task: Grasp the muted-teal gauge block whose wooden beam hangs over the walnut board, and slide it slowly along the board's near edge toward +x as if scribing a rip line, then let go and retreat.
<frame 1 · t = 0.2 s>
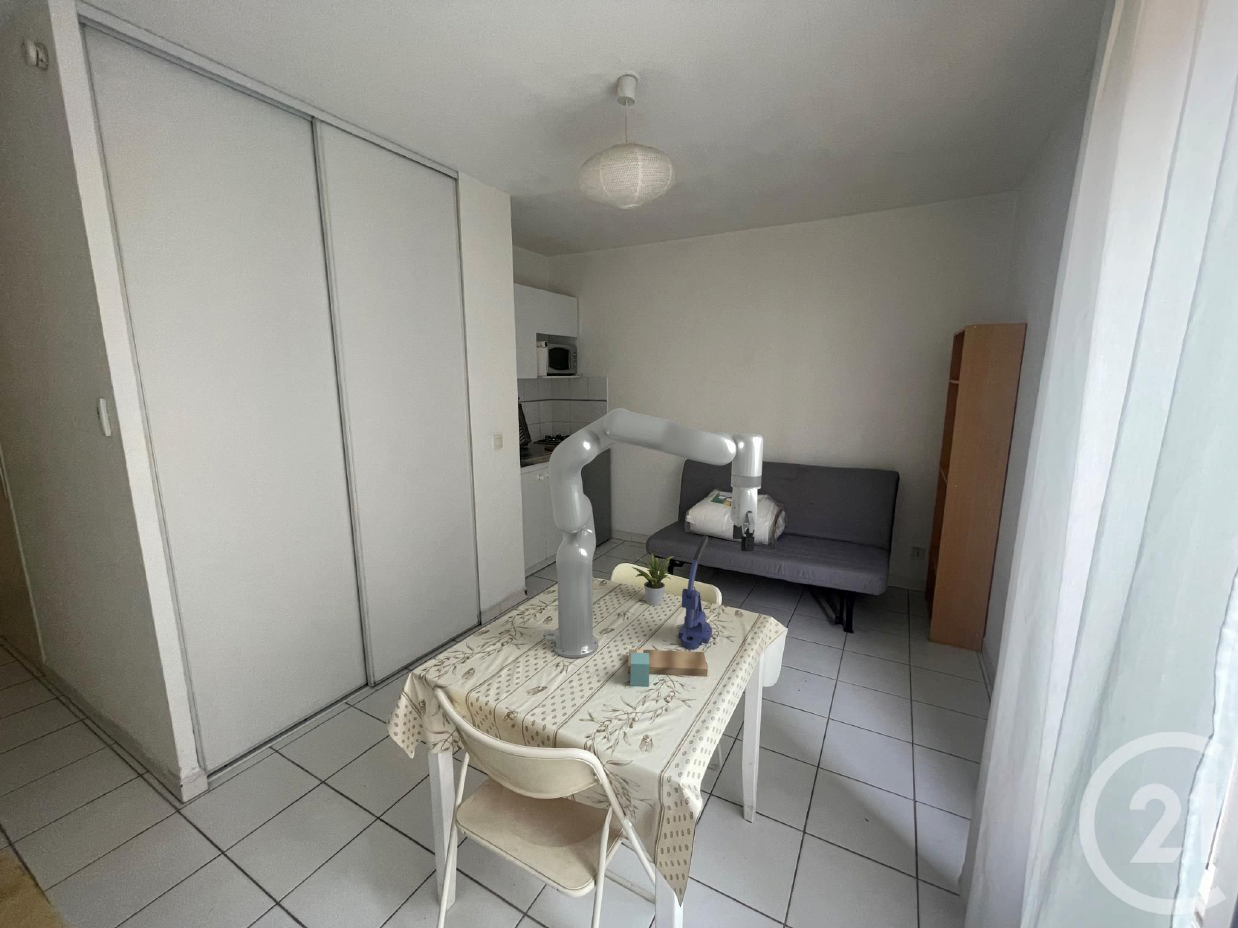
hand: (742, 544, 131), 31 cm above the table, fingers open, 9 cm apart
house plant: (655, 601, 168), on the table
gauge: (639, 680, 123), on the table
board: (666, 665, 129), on the table
hand press: (695, 636, 145), on the table
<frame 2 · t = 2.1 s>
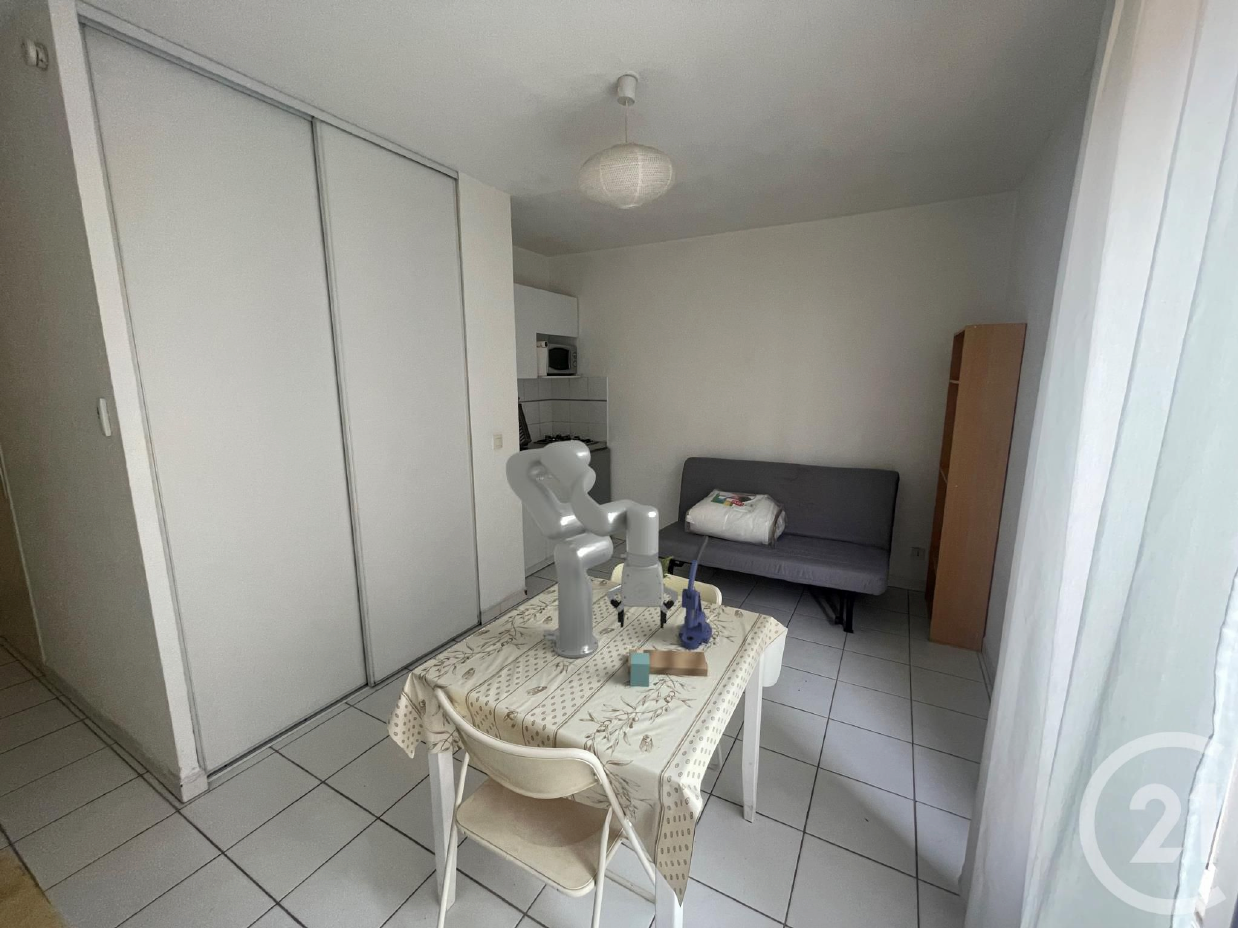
hand: (642, 625, 120), 15 cm above the table, fingers open, 9 cm apart
nothing on the table moved.
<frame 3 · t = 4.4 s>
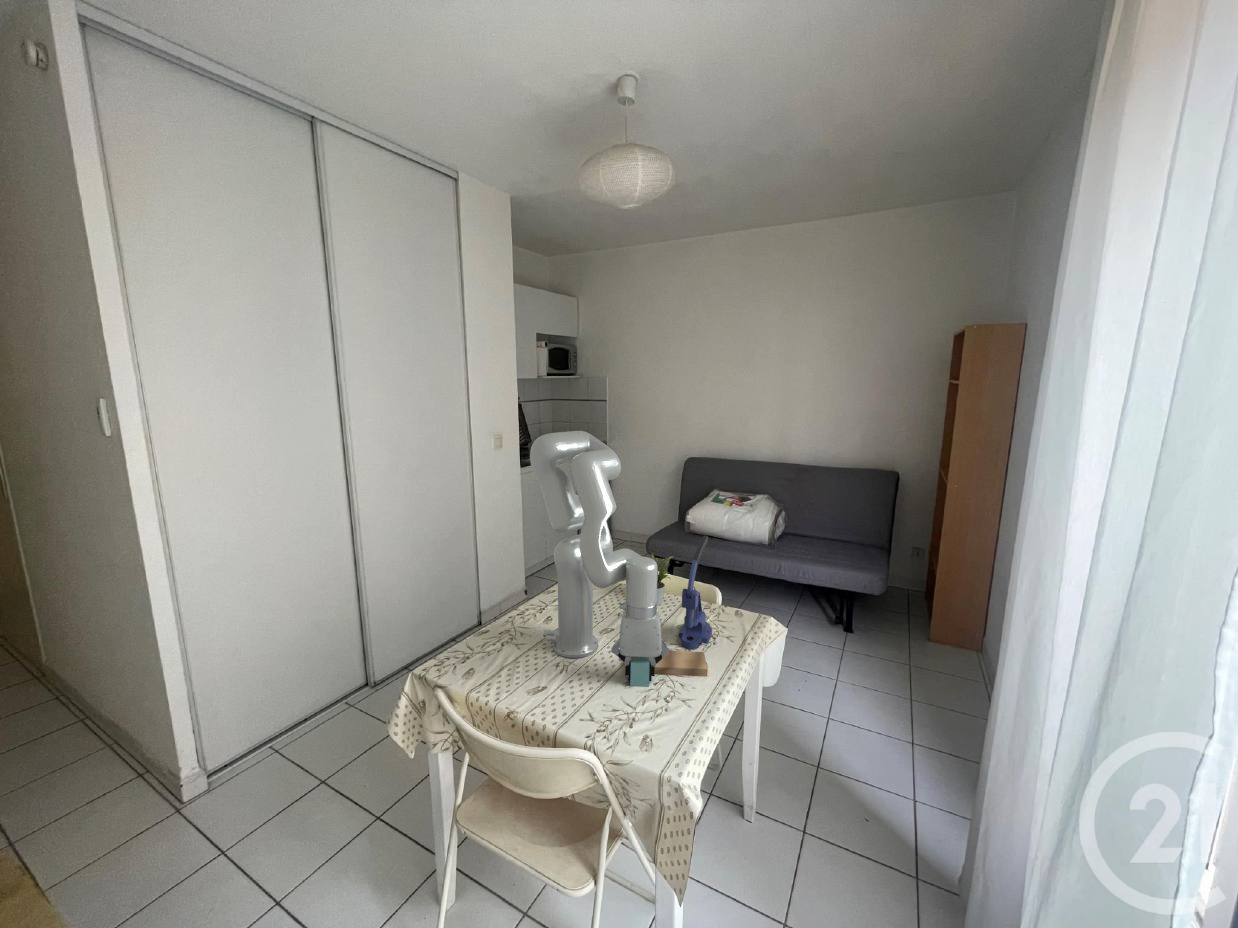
hand: (639, 676, 123), 1 cm above the table, fingers closed on gauge, 4 cm apart
gauge: (639, 680, 123), on the table, touching gripper
everything else where it was.
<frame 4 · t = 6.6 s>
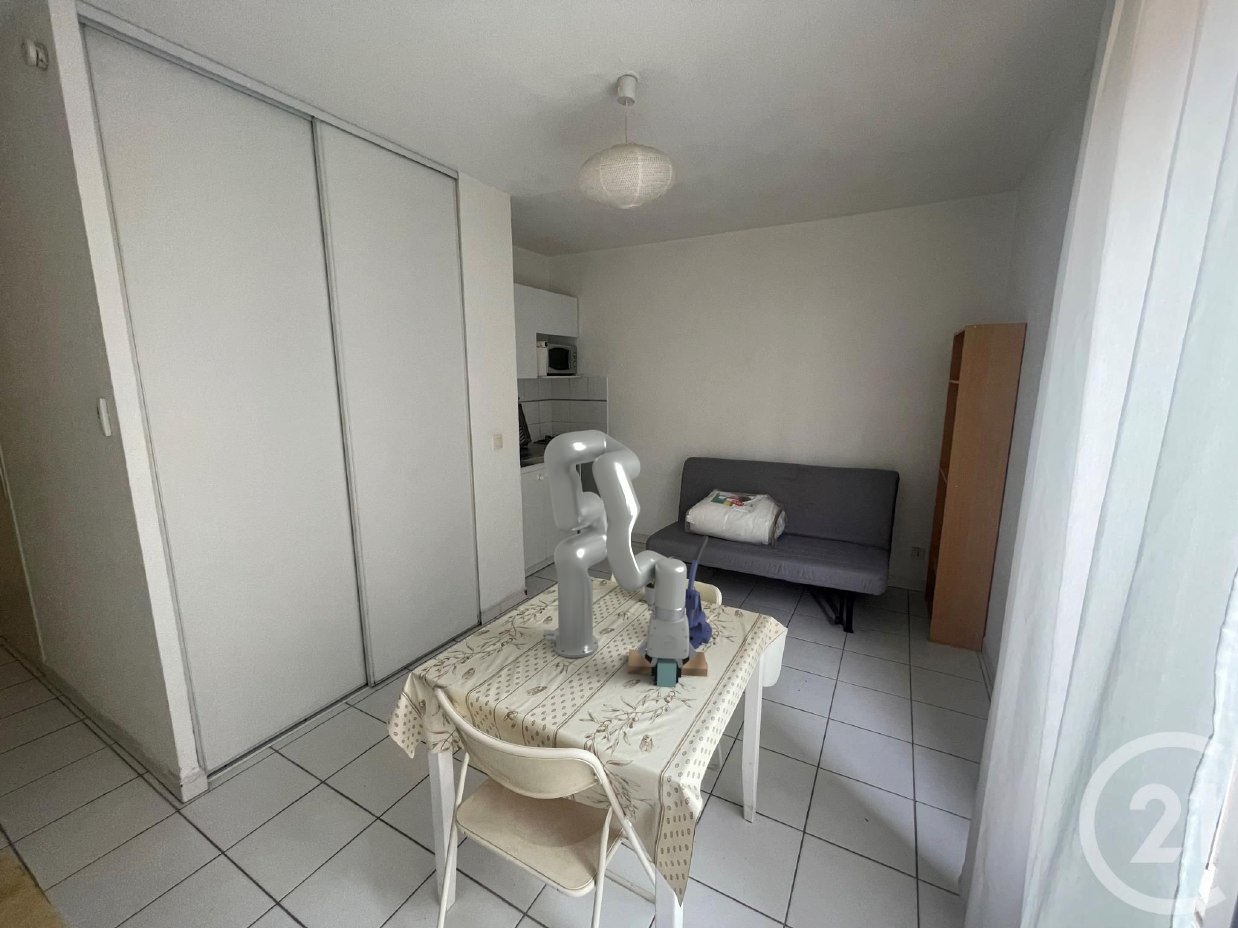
hand: (666, 678, 123), 1 cm above the table, fingers closed on gauge, 4 cm apart
gauge: (665, 680, 123), on the table, touching gripper
everything else where it was.
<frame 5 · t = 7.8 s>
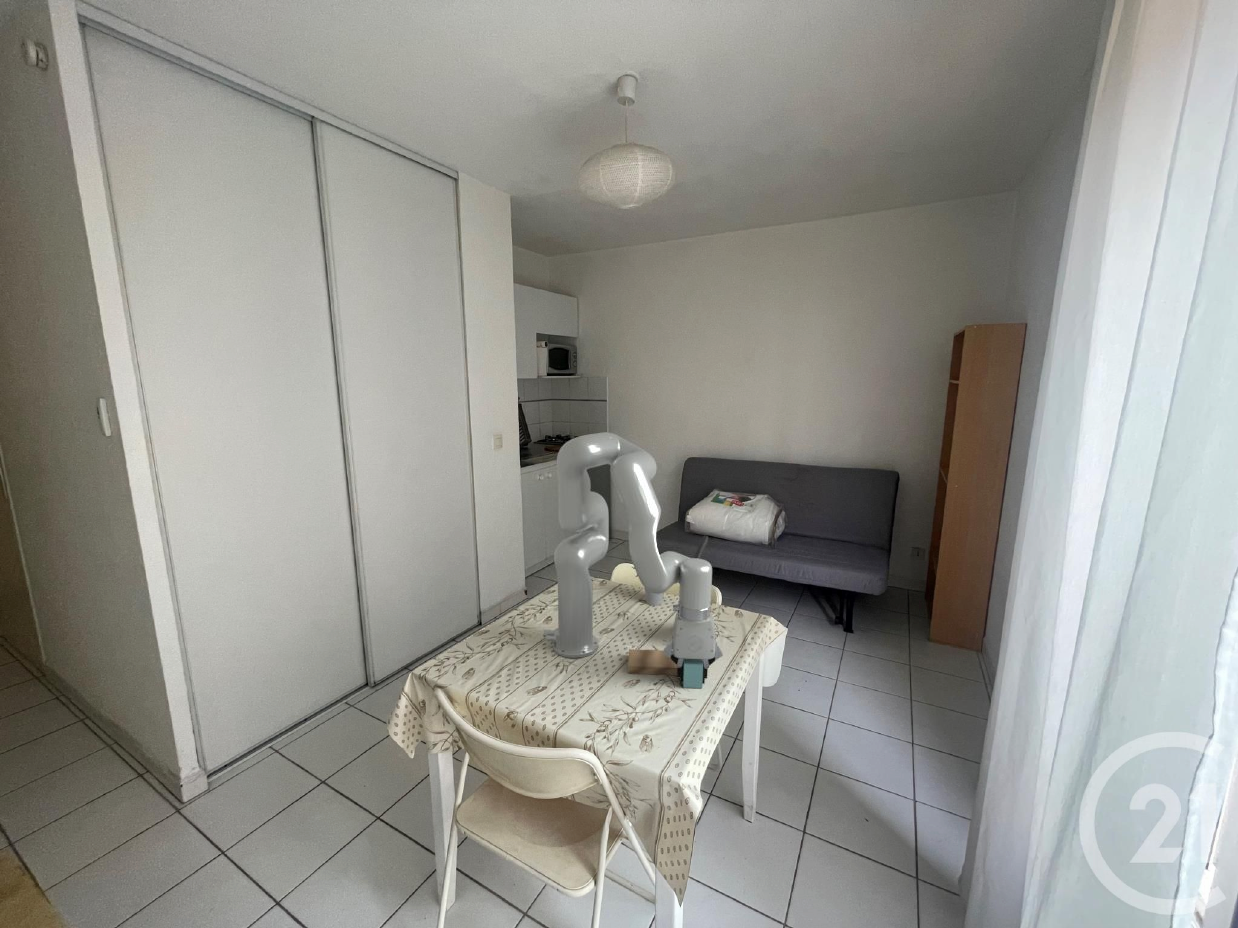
hand: (691, 679, 122), 1 cm above the table, fingers closed on gauge, 4 cm apart
gauge: (691, 681, 122), on the table, touching gripper
everything else where it was.
when the fingers open (1 cm above the table, at t = 8.9 s): gauge stays where it is, on the table.
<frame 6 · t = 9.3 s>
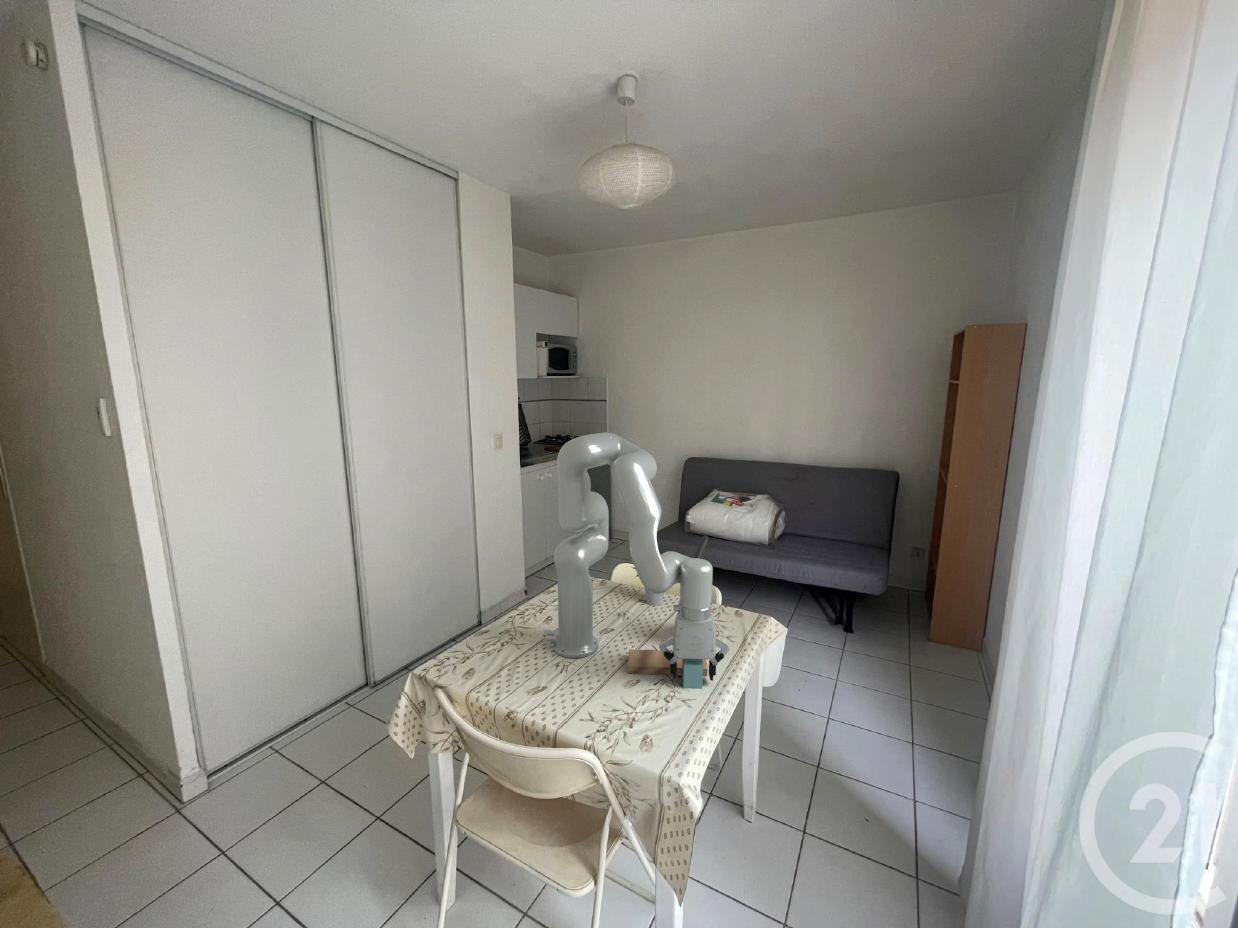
hand: (692, 676, 122), 2 cm above the table, fingers open, 8 cm apart
gauge: (691, 682, 123), on the table
everything else where it was.
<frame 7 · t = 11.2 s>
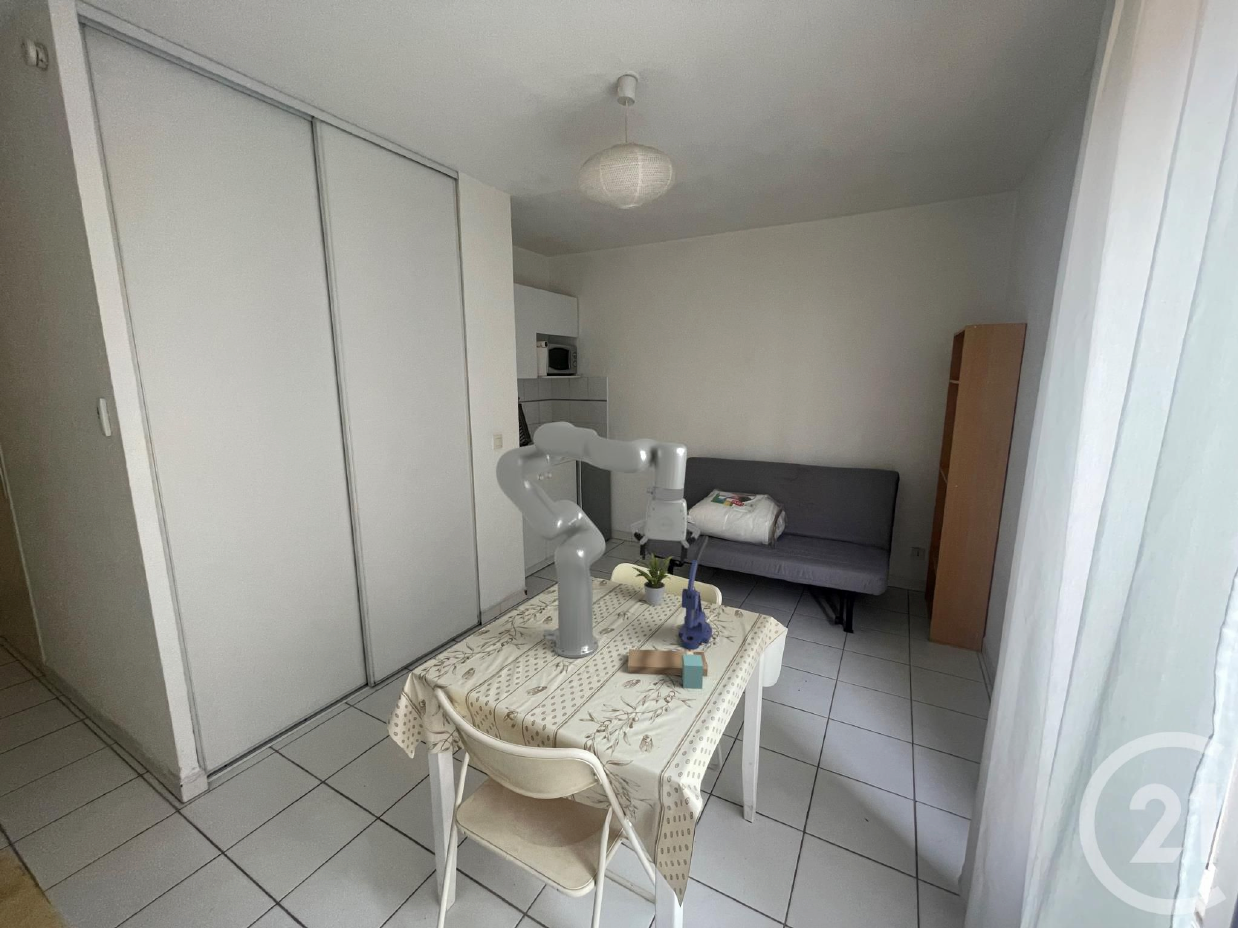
hand: (662, 559, 124), 29 cm above the table, fingers open, 9 cm apart
nothing on the table moved.
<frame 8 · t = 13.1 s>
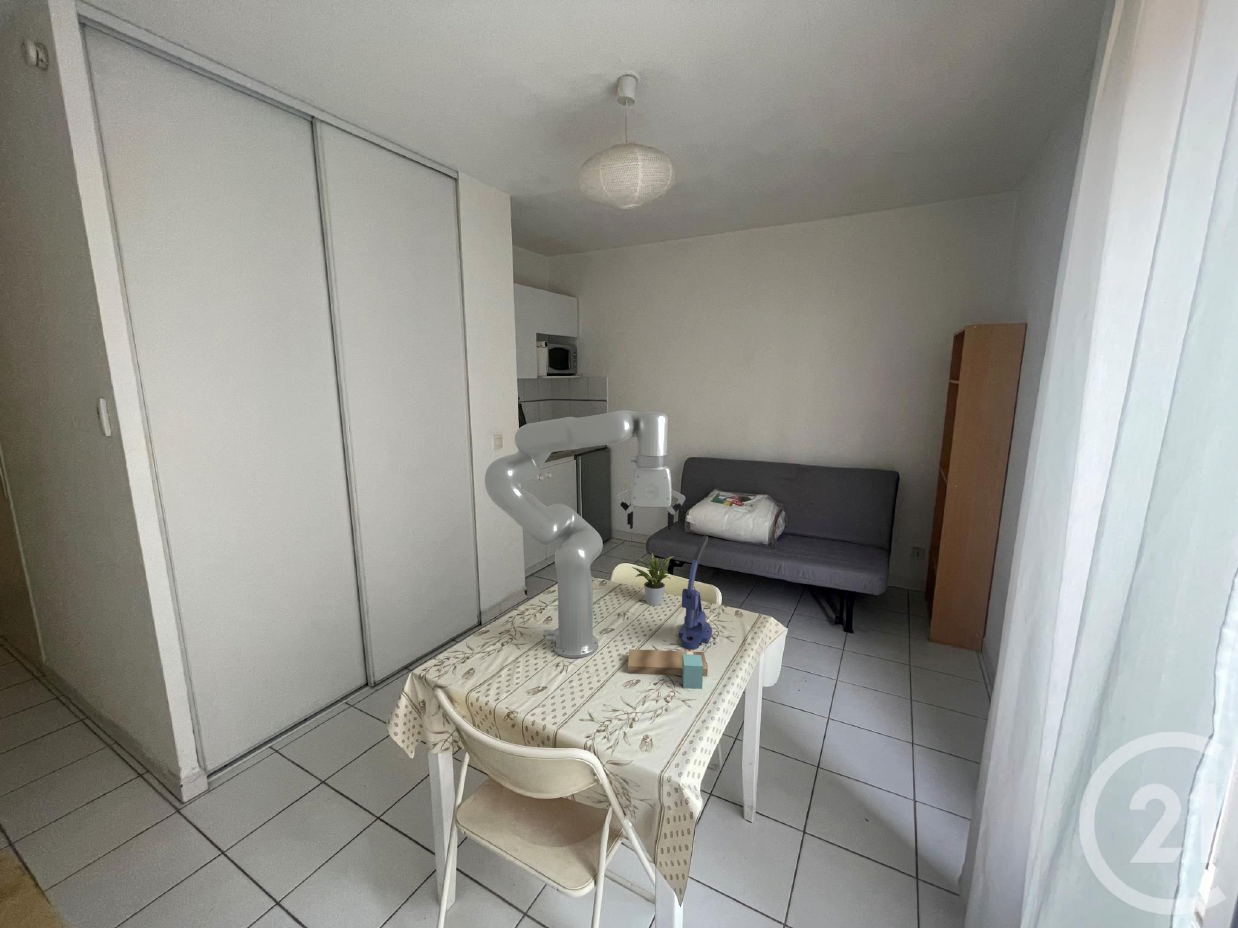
hand: (650, 527, 127), 36 cm above the table, fingers open, 9 cm apart
nothing on the table moved.
at the end: gauge 0.3 cm from the target spot, on the table; gauge tilted 0°; the gripper is holding nothing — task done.
